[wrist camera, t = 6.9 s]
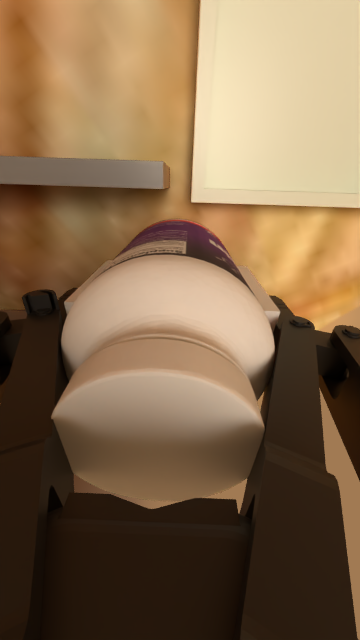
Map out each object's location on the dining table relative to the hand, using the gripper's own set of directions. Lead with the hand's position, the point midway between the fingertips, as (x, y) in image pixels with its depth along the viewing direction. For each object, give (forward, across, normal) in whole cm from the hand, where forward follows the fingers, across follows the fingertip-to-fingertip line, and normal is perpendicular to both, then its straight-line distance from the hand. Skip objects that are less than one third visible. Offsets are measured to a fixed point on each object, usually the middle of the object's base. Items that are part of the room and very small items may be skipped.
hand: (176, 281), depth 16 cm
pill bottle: (+2, 0, 0) cm, 2 cm away
